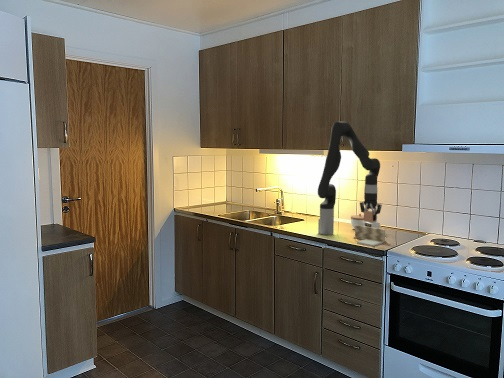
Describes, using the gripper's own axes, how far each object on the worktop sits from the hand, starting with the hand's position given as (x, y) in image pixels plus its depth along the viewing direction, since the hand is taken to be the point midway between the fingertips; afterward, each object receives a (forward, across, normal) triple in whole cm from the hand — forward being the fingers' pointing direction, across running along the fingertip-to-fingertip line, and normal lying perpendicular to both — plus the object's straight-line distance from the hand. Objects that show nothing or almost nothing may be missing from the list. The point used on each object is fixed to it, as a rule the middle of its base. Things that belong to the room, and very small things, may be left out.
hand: (370, 220), depth 257 cm
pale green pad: (+14, 0, 0) cm, 14 cm away
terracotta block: (+1, 0, 0) cm, 1 cm away
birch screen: (+14, -5, +8) cm, 17 cm away
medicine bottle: (+14, -15, +28) cm, 35 cm away
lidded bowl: (+14, -27, +32) cm, 45 cm away
